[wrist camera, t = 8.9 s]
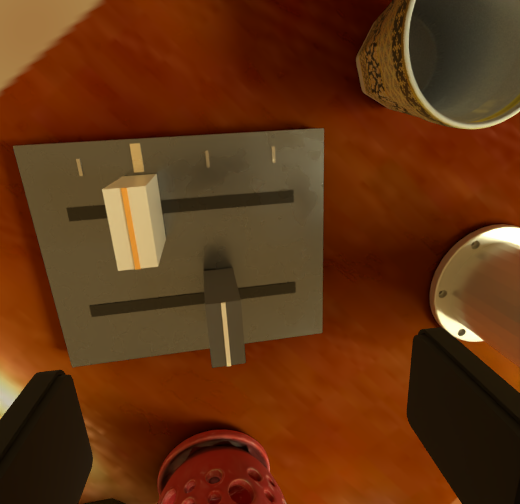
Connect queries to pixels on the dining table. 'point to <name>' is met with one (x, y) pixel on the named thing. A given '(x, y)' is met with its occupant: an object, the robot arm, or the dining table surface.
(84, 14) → the dining table surface
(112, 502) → the wine bottle
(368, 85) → the ceramic cup
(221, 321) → the fader cap
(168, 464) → the plant pot
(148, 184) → the fader cap
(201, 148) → the console board
